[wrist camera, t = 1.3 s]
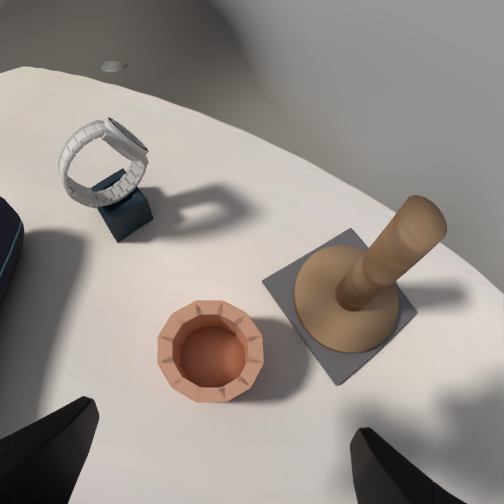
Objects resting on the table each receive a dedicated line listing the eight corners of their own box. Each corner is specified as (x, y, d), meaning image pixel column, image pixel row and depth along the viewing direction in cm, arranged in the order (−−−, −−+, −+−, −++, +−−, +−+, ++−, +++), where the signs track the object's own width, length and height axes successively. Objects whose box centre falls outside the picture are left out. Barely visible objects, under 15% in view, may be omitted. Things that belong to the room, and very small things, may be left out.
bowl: (274, 371, 21) (283, 366, 18) (198, 416, 19) (191, 420, 15) (227, 301, 24) (227, 283, 20) (154, 341, 21) (140, 330, 18)
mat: (414, 313, 24) (416, 311, 24) (335, 385, 21) (337, 385, 20) (349, 229, 28) (350, 227, 28) (262, 282, 25) (262, 280, 24)
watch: (169, 208, 28) (150, 119, 18) (103, 252, 25) (53, 174, 15) (144, 178, 30) (123, 95, 20) (83, 216, 27) (42, 140, 17)
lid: (411, 310, 24) (501, 246, 13) (338, 377, 21) (438, 346, 10) (350, 233, 28) (407, 140, 17) (270, 281, 24) (306, 180, 14)
